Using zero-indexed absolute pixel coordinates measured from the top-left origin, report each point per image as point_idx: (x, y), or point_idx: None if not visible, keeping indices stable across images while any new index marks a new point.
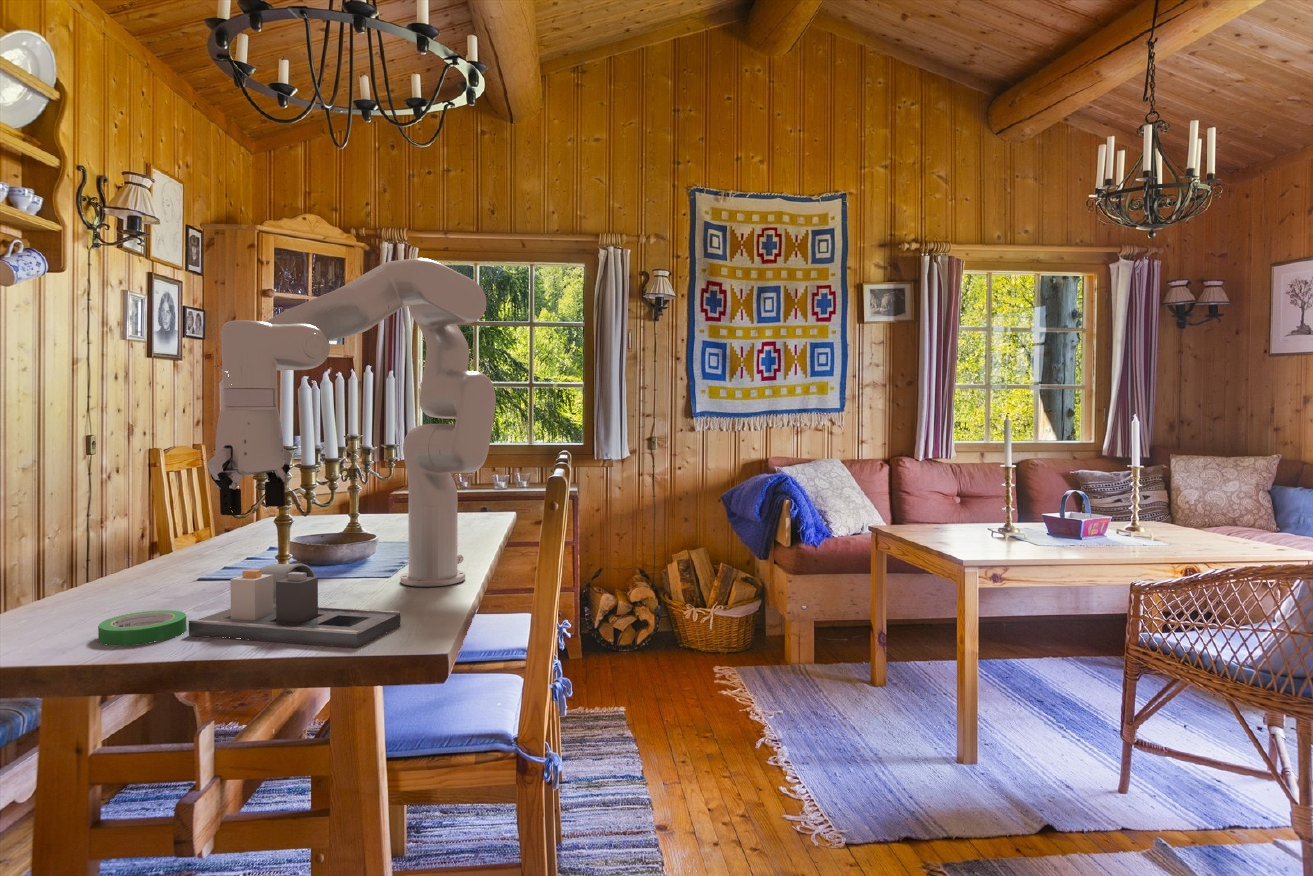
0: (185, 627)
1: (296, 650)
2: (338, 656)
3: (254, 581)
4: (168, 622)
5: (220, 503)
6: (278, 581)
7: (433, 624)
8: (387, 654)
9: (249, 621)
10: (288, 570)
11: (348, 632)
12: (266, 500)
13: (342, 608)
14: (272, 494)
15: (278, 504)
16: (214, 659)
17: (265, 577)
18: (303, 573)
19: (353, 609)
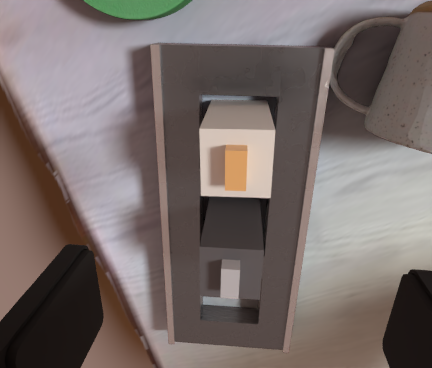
0: (182, 6)
1: (142, 265)
2: (137, 320)
3: (201, 193)
4: (125, 8)
5: (39, 279)
6: (202, 250)
7: (302, 364)
8: (161, 360)
9: (191, 162)
10: (416, 146)
11: (168, 333)
12: (413, 299)
13: (298, 271)
14: (422, 363)
15: (386, 341)
16: (68, 187)
17: (241, 196)
18: (228, 297)
19: (293, 290)
